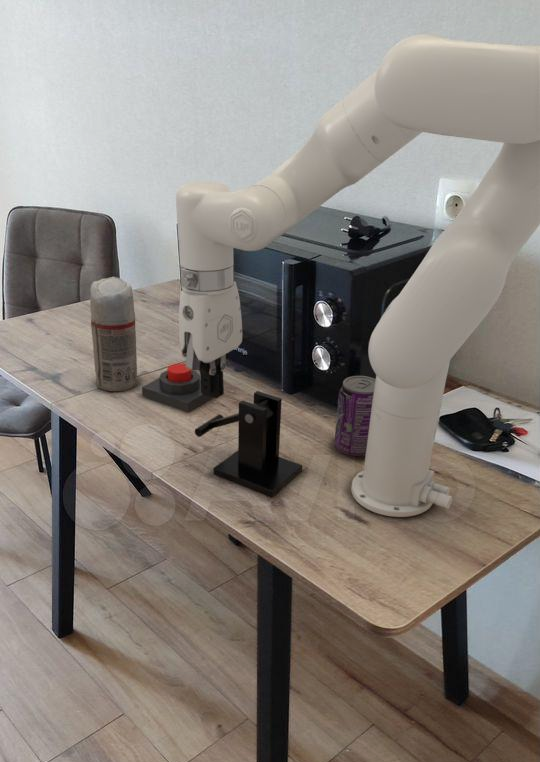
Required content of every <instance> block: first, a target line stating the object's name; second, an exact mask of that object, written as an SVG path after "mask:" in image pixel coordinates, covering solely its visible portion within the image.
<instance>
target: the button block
mask: <svg viewBox="0 0 540 762" xmlns="http://www.w3.org/2000/svg"><path fill="white" fill-rule="evenodd" d="M141 394H142V397H143V398H147V399H148V400H152V401H155V402H157V403H160V404H163V405H166V406H168V407H171V408H175V409H178V410H180V411H183V412H186V413H190V412H192V411H193V410H195V409H197V408H198V407H200V406H202V405H203V404H205V403H206V402H209V401H210V400H212V399H214V398H213V397H210V396H206V395H203V394H202V393H201V379H200V373H199V372H198V371H197V370H191V380H189V381H186V382H172V381H169V380H168V373H167V370H164V371H163V372H161V373H160V375H159V376H158V378H156V379H154V380H153V381H151V382H149V383H146V384H144V385H143V386H141Z"/></svg>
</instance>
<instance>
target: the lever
mask: <svg viewBox="0 0 540 762" xmlns="http://www.w3.org/2000/svg"><path fill="white" fill-rule="evenodd" d="M253 404H255V405H258V406H261V407H264V408H267V418H269V417H270V416H272V415H273V414H274V413H273V411H272V408H271V406H270V404H269V401H268V400H264V401H261V402H257V403H254V402H253ZM234 423H239V412H238V413H235V414H232V415H228V416H225V417H224V416H223V415H222V414H219V413H218V414H217V415H215V416H214V417H212V418H210V419H209V420H207V421H206V422H204V423H203V424H201V425H199V426H198V427H196V428H195V429H194V434H195V436H196V437H197V438H201V437H203V436H205V434H207V433H209V432H210V431H212V430H213V429H217V428H220V427H224V426H226V425H231V424H234Z"/></svg>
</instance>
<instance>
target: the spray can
mask: <svg viewBox="0 0 540 762" xmlns="http://www.w3.org/2000/svg"><path fill="white" fill-rule="evenodd" d="M89 292H90V293H89V299H90V300H89V301H90V302H89V308H90V328H91V338H92V339H91V340H92V348H93V350H92V352H93V359H94V361H93V362H94V371H95V385H96V387H97V388H99V389H100V390H104V391H108V392H121V391H122V392H123V391H127V390H131V389H133V388H135V387H136V386H137V384H138V379H137V378H138V377H137V376H138V364H137V333H136V332H137V331H136V313H135V305H134V304H135V302H134V293H133V287H132V285H131V283H128V282H125V280H124V279H122V278H120V277H117V276H115V275H114V276H110V277H107V278H101V279H100V280H94V281H92V282H91V285H90V290H89Z"/></svg>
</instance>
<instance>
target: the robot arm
mask: <svg viewBox="0 0 540 762" xmlns="http://www.w3.org/2000/svg"><path fill="white" fill-rule="evenodd" d="M422 133H426V134H432V135H440V136H446V137H454V138H455V137H456V138H462V139H463V138H464V139H472V140H479V141H486V142H495V143H503V144H502V146H501V149H500V151H499V152H498V155H497V157H496V158H495V160H494V161H493V163H491V166H490V167H489V169H488V170H487V172H486V173H485V174H484V176H483V178H482V179H481V181H480V182H479V184H478V186H477V187H476V189H474V191H473V193H472V194H471V196H470V197H469V198H468V200H467V201H466V203H465V204H464V205H463V206H462V208H461V209H460V211H459V212H458V213H457V215H456V216H455V218H454V219H453V220H452V221H451V223H450V224H449V225H448V226H447V227H446V228H445V229H444V230H443V231H442V232H441V233H440V234H439V235H438V236H437V238H436V239H435V241H434V242H433V243H432V245H431V247H430V248H429V249H428V251H427V253H426V254H425V256H424V258H423V259H422V261H421V262H420V263H419V265H418V267H417V268H416V270H415V271H414V273H412V275H411V277H410V278H409V279H408V281H407V283H406V284H405V286H404V287H403V288H402V290H401V291H400V293H398V295H397V296H396V297H395V298H394V299H392V301H391V302H390V303H389V305H388V306H387V308H386V309H385V311H384V312H383V313H382V315H381V317H380V319H379V321H378V323H377V324H376V326H375V327H374V329H373V331H372V333H371V335H370V338H369V341H368V349H367V352H368V353H367V355H368V360H369V364H370V366H371V369H372V371H373V373H374V374H375V379H376V380H375V387H374V395H373V401H372V409H371V417H370V425H369V433H368V440H367V448H366V455H364V465H363V470H361V471H360V472H358V473H357V474H355V476H354V477H353V478H352V481H351V486H350V490H351V491H350V492H351V494H352V497H353V499H354V500H355V501H356V502H357V503H358V504H359V505H360V506H362V507H363V508H365V509H367V510H368V511H370V512H372V513H375V514H378V515H382V516H386V517H391V518H407V517H414V516H418V515H420V514H423V513H425V512H427V511H428V510H429V509H430V508H431V507H432V506H433V505H434V504H435V505H436V506H438V507H441V508H445V509H449V508H450V507H451V504H452V501H453V495H450V492H451V487H449V486H446V485H443V484H439V483H436V480H434V476H435V471H434V470H432V469H430V467H431V460H432V456H433V450H434V445H435V441H436V434H437V429H438V423H439V419H440V418H439V416H440V412H441V409H442V403H443V398H444V394H445V387H446V382H447V378H448V374H449V373H448V372H449V368H450V363H451V360H452V359H453V357H454V356H455V355H456V354H457V352H458V351H459V350H460V349H461V347H462V346H463V345H464V344H465V343H466V341H467V340H468V339H469V337H470V336H472V334H473V333H474V332H475V330H476V329H477V328H478V326H479V325H480V324H481V323H482V322H483V320H484V319H485V318H486V317H487V316H488V314H489V313H490V312H491V310H492V308H493V307H494V306H495V304H496V302H497V301H498V299H499V297H500V296H501V294H502V292H503V290H504V287H505V284H506V281H507V277H508V273H509V271H510V267H511V264H513V262H514V259H516V257H517V255H518V254H519V253H520V251H521V250H522V248H523V247H524V246H525V245H526V243H527V242H528V241H529V240H530V239H531V237H532V236H533V234H534V233H535V231H536V230H537V229H538V227H539V226H540V44H535V45H521V44H520V45H519V44H509V43H508V44H506V43H494V42H481V41H471V40H461V39H452V38H446V37H444V36H443V35H439V34H437V33H420V34H414V35H411V36H407V37H406V38H403V39H401V40H399V42H397V43H396V44H394V45H393V46H392V47H391V48H390V49H389V50H388V51H387V52H386V53H385V55H384V57H383V58H382V60H381V61H380V64H379V66H378V68H376V70H374V72H373V71H372V73H371V74H370V75H369V76H368V77H367V78H366V79H364V80H363V81H362V82H361V83H360V84H358V85H357V86H356V87H355V88H354V89H353V90H352V91H350V92H349V93H348V94H347V95H345V96H344V97H343V98H342V99H341V100H340V101H338V102H337V103H336V104H335V105H334V106H332V107H331V108H330V109H328V111H326V112H325V113H323V115H322V116H321V117H320V118H319V120H318V121H317V123H316V124H315V125H314V129H313V131H312V133H311V135H310V137H309V138H308V139H307V140H306V142H304V144H303V145H302V146H301V147H300V148H299V149H297V150H296V151H295V152H294V153H293V154H292V155H290V157H288V158H286V160H285V161H283V163H281V164H280V165H279V166H277V168H276V169H274V170H273V171H271V173H269V174H268V175H266V176H265V177H264V178H263V179H261V180H259V181H257V182H255V183H253V184H251V185H249V186H247V187H245V188H244V187H243V188H241V189H239V190H235V191H232V190H230V188H229V187H228V186H227V185H226V184H224V183H222V182H217V181H192V182H187V183H184V184H182V185H180V187H178V189H177V191H176V194H175V205H176V223H177V237H178V253H179V269H180V285H181V291H180V295H179V296H180V297H179V306H178V307H179V308H178V338H179V339H178V341H179V348H180V354H181V355H182V357H184V358H185V364H186V368H187V369H190V370H193V371H196V372H197V373H199V375H200V380H201V393H202V394H203V395H206V396H210V397H213V398H212V399H218V398H220V397H221V396H223V395H224V392H225V391H224V389H225V388H224V370H225V369H226V363H227V357H228V355H229V354H230V353H231V352H232V351H234V350H235V349H237V348H238V347H240V345H241V344H242V342H243V320H242V309H241V300H240V295H239V290H238V285H237V282H236V281H235V263H234V261H235V260H234V249H237V250H240V251H244V252H257V251H260V250H263V249H265V248H266V247H268V246H269V245H271V244H273V242H275V241H276V240H278V238H280V237H281V236H283V235H284V234H286V233H288V231H290V230H291V229H292V228H294V227H295V226H296V225H297V224H299V223H300V222H301V221H303V220H304V219H305V218H307V217H308V216H309V215H310V214H312V213H313V212H315V211H316V210H317V209H318V208H320V207H321V206H322V205H323V204H325V203H326V202H328V201H329V200H330V199H331V198H333V197H334V196H336V195H337V194H338V193H339V192H341V191H342V190H344V189H346V188H347V187H351V186H352V185H355V184H357V183H358V182H359V181H360V180H362V179H364V178H365V177H366V176H367V175H368V174H370V173H371V172H372V171H373V170H375V169H376V168H378V167H380V165H382V164H383V163H384V162H386V160H388V159H389V158H391V157H392V156H393V155H394V154H396V153H397V152H398V151H400V150H401V149H402V148H404V147H405V146H407V144H409V143H410V142H412V141H413V140H414V139H416V138H417V137H418V136H420V135H421V134H422Z"/></svg>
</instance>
